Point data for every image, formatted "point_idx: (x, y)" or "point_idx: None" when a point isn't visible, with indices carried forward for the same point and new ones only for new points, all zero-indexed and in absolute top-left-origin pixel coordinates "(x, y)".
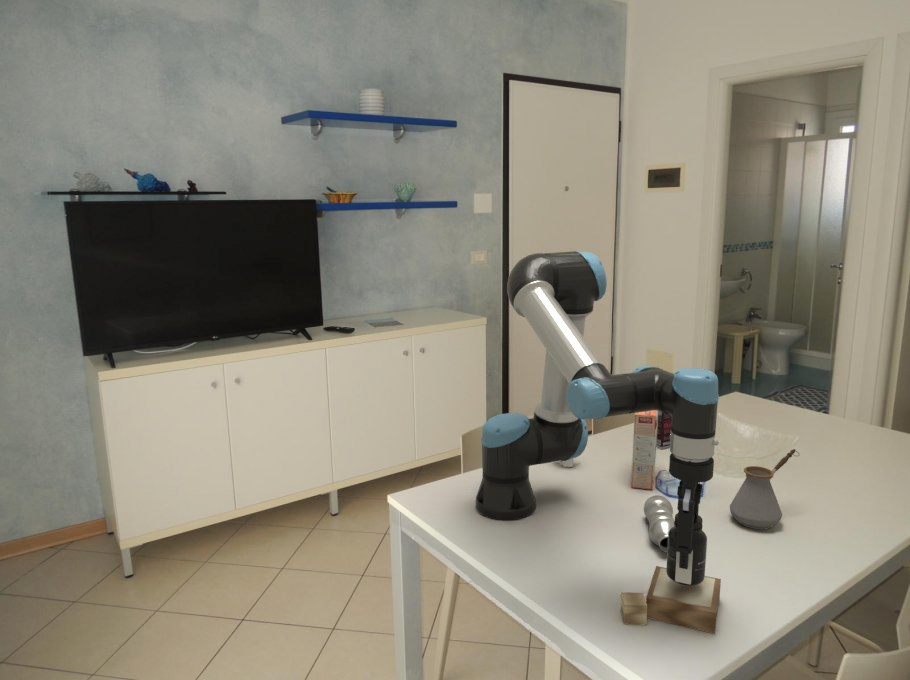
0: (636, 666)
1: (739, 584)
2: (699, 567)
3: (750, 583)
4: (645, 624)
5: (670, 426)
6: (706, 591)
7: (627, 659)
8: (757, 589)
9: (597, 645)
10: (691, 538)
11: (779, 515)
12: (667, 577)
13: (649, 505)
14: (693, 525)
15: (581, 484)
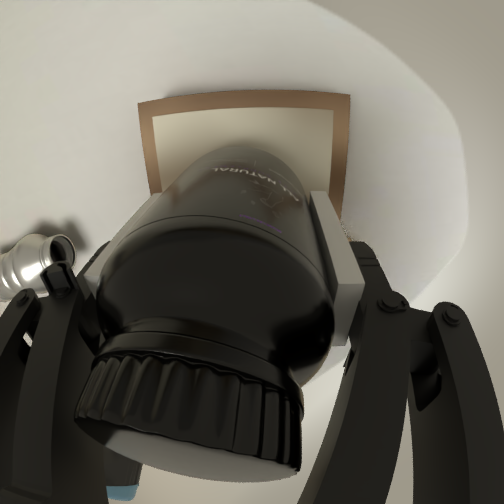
0: (458, 237)
1: (87, 78)
2: (289, 185)
3: (74, 62)
4: (350, 239)
5: None
6: (240, 127)
7: (444, 252)
8: (90, 42)
9: (416, 294)
10: (478, 386)
11: None
12: None
13: (8, 298)
14: (370, 467)
15: (30, 346)
